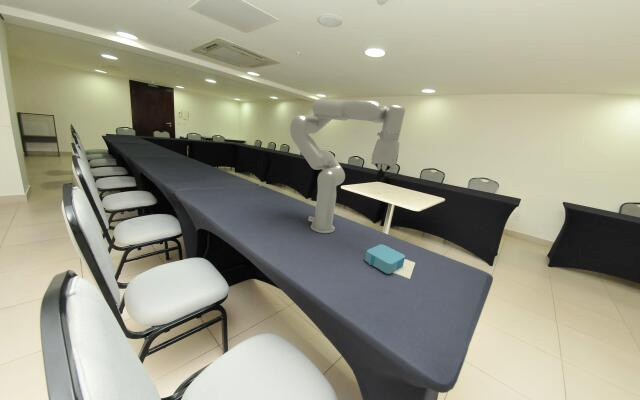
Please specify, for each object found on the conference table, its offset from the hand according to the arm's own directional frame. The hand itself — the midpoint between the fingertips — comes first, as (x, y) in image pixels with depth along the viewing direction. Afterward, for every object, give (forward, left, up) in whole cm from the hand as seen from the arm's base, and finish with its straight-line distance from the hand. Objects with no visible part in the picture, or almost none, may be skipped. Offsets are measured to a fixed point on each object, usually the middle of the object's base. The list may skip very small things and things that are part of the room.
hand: (380, 179), depth 105 cm
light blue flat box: (+6, -12, -29) cm, 31 cm away
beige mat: (+15, -11, -31) cm, 36 cm away
